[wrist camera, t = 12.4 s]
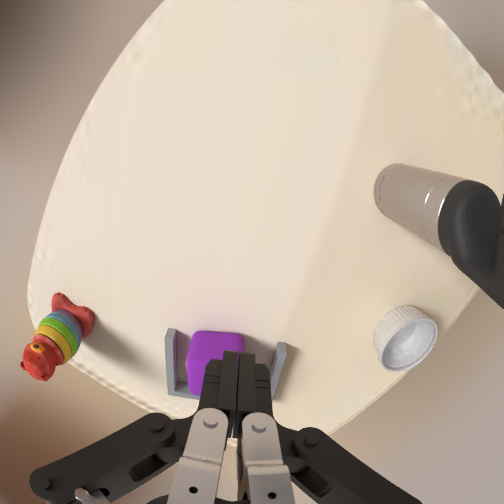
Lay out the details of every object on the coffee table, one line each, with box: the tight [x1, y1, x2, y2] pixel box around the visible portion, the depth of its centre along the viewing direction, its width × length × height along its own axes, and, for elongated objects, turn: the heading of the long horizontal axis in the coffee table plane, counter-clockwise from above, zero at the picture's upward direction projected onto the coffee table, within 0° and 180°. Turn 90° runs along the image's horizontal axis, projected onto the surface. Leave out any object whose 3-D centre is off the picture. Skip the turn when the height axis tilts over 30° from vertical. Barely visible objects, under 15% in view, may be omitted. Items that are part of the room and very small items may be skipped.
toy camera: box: [185, 331, 244, 396], centre depth 47 cm, size 11×14×10 cm
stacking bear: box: [20, 293, 95, 381], centre depth 40 cm, size 11×10×18 cm
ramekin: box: [374, 306, 438, 372], centre depth 47 cm, size 13×13×7 cm
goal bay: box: [165, 328, 287, 400], centre depth 51 cm, size 22×16×3 cm
